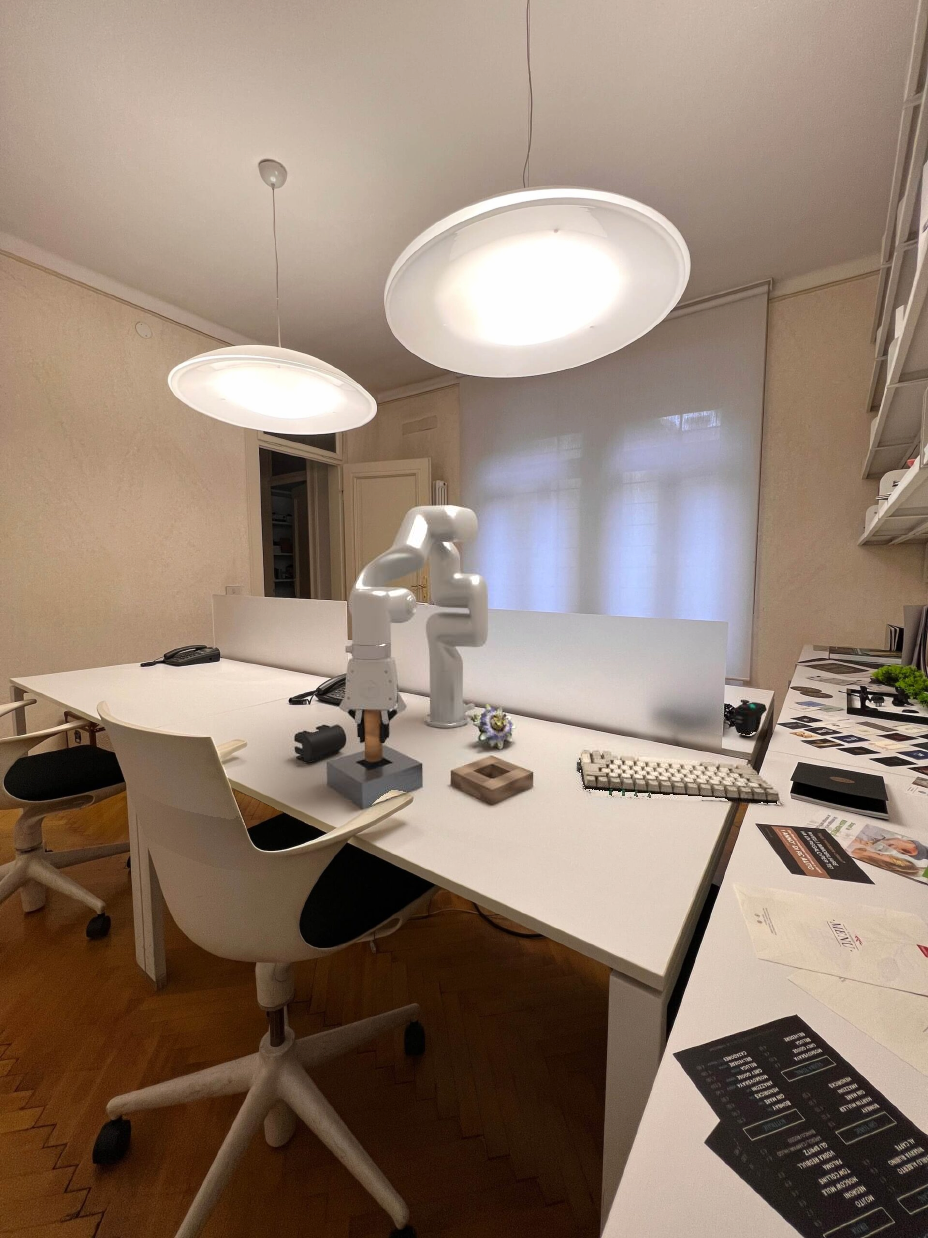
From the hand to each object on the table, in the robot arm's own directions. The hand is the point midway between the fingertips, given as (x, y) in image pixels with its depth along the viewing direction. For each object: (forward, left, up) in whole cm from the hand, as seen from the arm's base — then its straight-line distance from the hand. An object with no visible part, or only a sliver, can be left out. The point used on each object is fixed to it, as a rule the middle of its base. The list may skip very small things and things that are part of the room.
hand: (373, 740), depth 102 cm
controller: (-90, +41, -10) cm, 99 cm away
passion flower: (-35, -1, -10) cm, 37 cm away
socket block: (0, 0, -10) cm, 10 cm away
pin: (0, 0, -4) cm, 4 cm away
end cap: (+1, -22, -10) cm, 24 cm away
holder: (-18, +16, -10) cm, 26 cm away
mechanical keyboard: (-48, +39, -11) cm, 63 cm away
